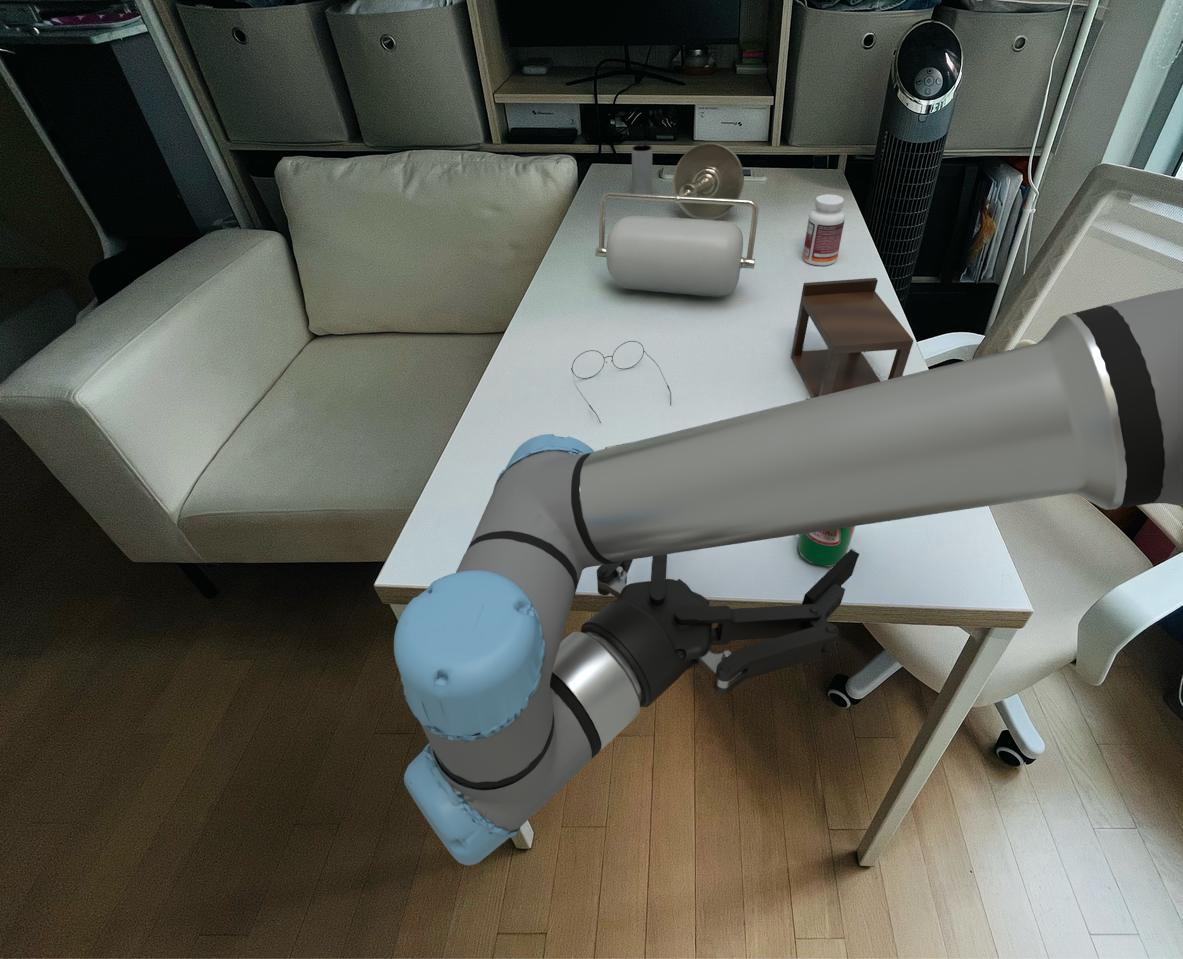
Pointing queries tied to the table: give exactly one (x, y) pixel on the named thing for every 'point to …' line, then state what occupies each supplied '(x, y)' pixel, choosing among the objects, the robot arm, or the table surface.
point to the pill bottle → (824, 230)
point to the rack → (846, 335)
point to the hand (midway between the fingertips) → (782, 519)
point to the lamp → (684, 231)
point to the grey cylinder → (642, 169)
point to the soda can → (825, 545)
